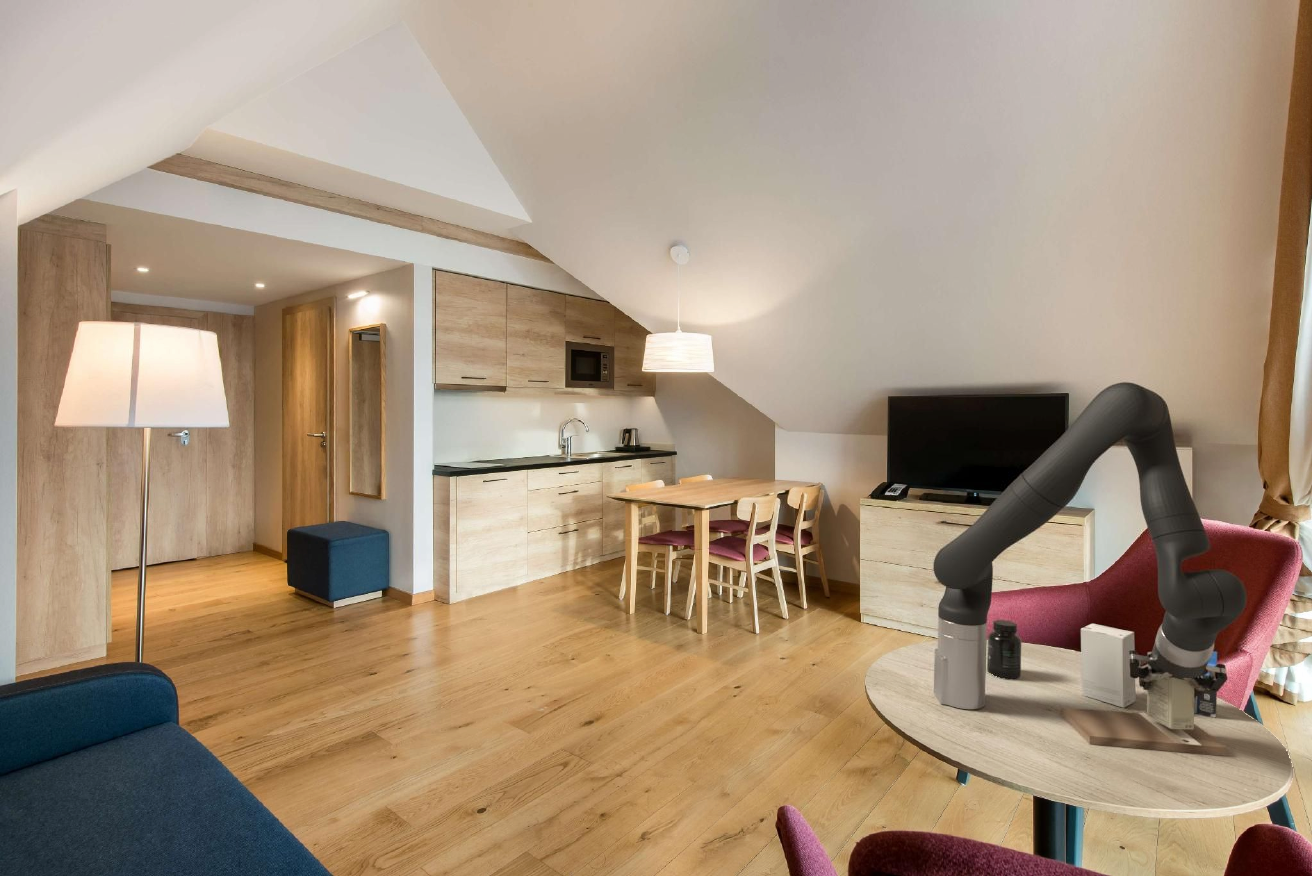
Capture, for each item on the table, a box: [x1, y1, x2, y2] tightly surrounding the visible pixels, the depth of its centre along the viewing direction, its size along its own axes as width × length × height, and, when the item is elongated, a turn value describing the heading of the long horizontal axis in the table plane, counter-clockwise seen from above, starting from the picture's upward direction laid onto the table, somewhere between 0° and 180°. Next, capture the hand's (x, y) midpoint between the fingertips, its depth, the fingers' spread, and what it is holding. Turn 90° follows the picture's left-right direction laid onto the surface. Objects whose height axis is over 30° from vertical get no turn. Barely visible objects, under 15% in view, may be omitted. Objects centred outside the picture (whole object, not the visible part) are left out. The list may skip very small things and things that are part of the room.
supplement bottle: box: [986, 619, 1022, 680], centre depth 150 cm, size 7×7×12 cm
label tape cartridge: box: [1194, 650, 1218, 718], centre depth 133 cm, size 9×4×12 cm, turn 51°
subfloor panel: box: [1060, 706, 1228, 756], centre depth 122 cm, size 22×12×2 cm, turn 80°
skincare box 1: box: [1080, 623, 1137, 708], centre depth 137 cm, size 8×6×15 cm
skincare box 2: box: [1146, 651, 1195, 729], centre depth 121 cm, size 6×4×12 cm
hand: (1168, 689), depth 122 cm, fingers closed on skincare box 2, 6 cm apart
